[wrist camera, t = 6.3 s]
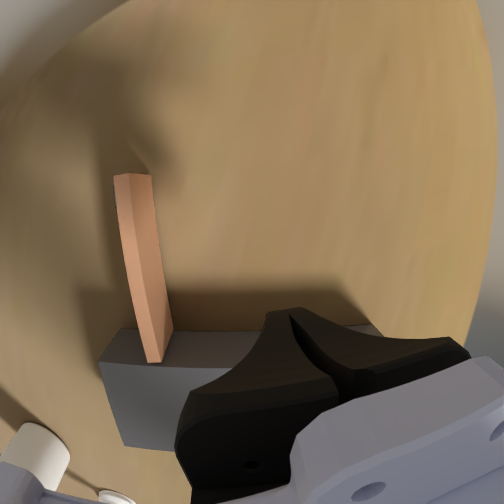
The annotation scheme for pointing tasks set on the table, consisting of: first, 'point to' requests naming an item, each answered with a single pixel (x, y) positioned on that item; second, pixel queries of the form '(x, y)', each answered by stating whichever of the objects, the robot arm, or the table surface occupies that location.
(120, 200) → the side door
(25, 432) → the can
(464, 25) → the table surface
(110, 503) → the chess piece
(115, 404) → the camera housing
